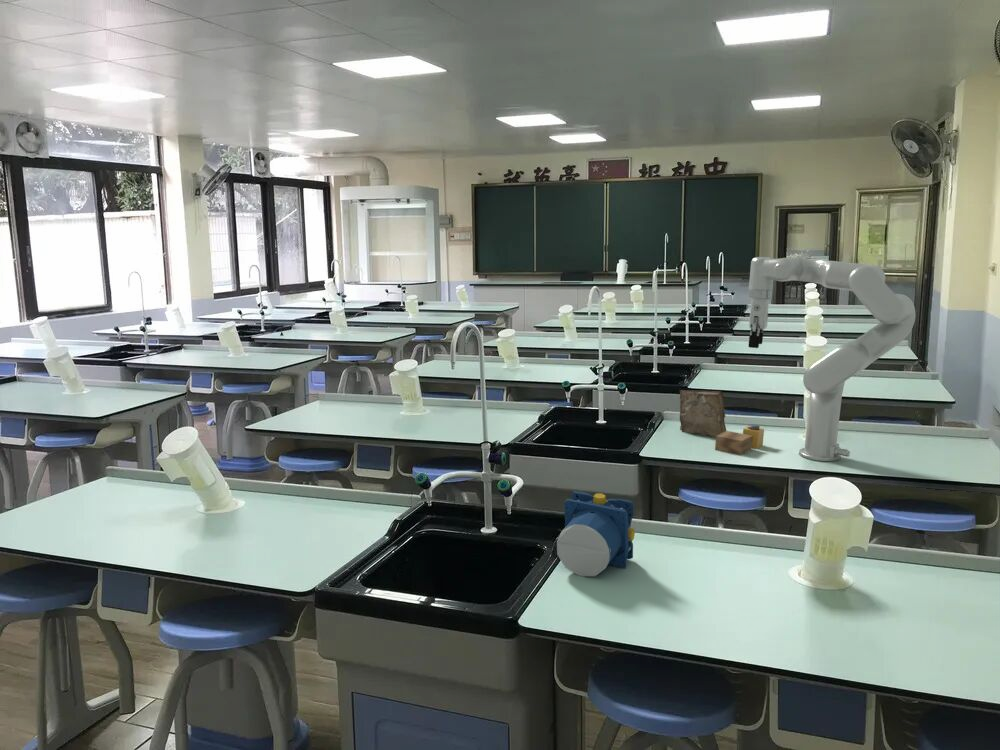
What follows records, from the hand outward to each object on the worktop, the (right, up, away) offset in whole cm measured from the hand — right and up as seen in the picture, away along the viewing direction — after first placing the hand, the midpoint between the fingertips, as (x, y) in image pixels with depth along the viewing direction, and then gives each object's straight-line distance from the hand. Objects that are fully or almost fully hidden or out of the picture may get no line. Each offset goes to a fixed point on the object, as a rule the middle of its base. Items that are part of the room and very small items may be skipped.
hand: (755, 345), depth 267 cm
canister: (0, -34, +3) cm, 34 cm away
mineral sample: (-14, -31, +17) cm, 38 cm away
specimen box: (-8, -35, -2) cm, 36 cm away
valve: (-66, -52, -94) cm, 126 cm away
